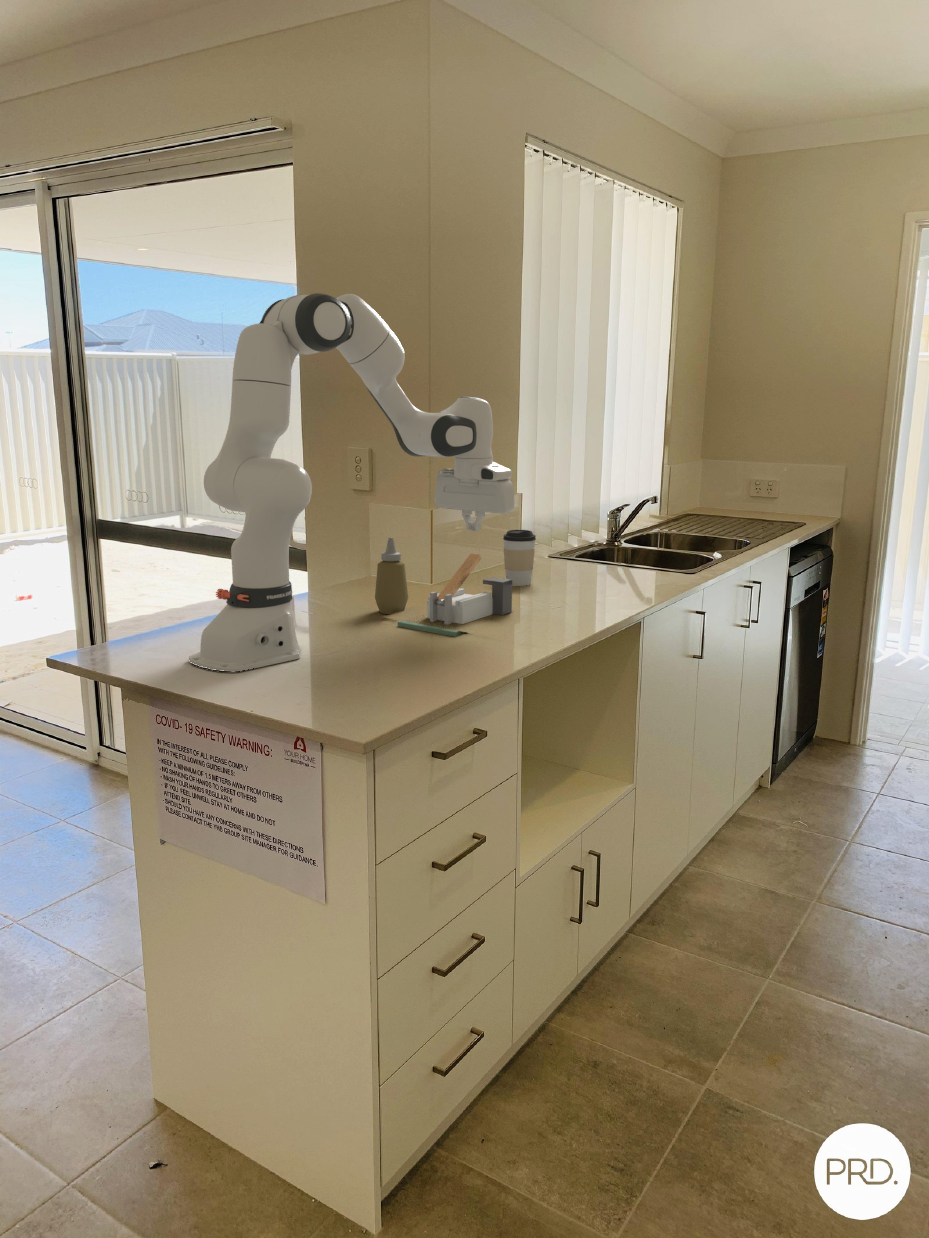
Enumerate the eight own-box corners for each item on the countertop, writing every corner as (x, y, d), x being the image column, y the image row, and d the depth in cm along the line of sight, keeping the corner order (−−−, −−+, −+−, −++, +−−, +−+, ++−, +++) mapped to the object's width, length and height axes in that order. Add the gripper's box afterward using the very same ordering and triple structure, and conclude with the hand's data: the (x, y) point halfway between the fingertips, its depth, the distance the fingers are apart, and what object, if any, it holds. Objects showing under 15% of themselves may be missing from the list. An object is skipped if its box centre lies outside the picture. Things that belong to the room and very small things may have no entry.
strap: (444, 607, 210) (442, 602, 209) (435, 605, 211) (433, 601, 211) (481, 558, 219) (479, 554, 218) (472, 557, 221) (470, 553, 220)
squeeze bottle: (368, 613, 224) (367, 538, 220) (386, 607, 231) (385, 534, 227) (397, 617, 220) (396, 541, 216) (414, 610, 227) (414, 537, 223)
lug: (502, 615, 219) (503, 582, 217) (482, 611, 222) (482, 579, 220) (511, 612, 222) (512, 579, 220) (491, 608, 225) (492, 576, 223)
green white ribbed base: (455, 636, 203) (455, 602, 201) (397, 626, 212) (397, 593, 210) (518, 614, 224) (519, 583, 222) (464, 605, 233) (464, 575, 231)
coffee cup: (496, 581, 263) (497, 528, 259) (525, 579, 266) (526, 526, 263) (511, 587, 255) (512, 533, 251) (540, 585, 258) (542, 531, 255)
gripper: (428, 468, 217) (429, 528, 221) (503, 473, 206) (502, 535, 209) (444, 466, 222) (445, 525, 226) (518, 471, 211) (517, 532, 214)
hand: (473, 530), depth 217 cm, fingers closed
